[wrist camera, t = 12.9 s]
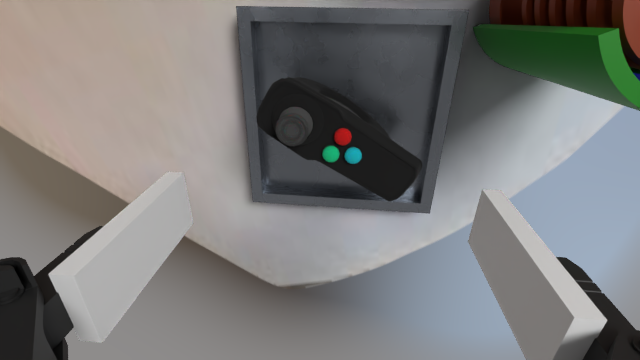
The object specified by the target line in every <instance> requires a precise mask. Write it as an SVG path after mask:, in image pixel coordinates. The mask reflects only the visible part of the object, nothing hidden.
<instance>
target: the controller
mask: <svg viewBox="0 0 640 360" xmlns="http://www.w3.org/2000/svg"><path fill="white" fill-rule="evenodd" d="M256 119H257V124H258V127H260V128H261V129H262V130H263V131H264V132H265V133H267V134H268V135H269V136H271V137H272V138H274V139H275V140H277V141H278V142H280V143H281V144H283V145H284V146H286V147H287V148H289V149H290V150H292V151H293V152H295V153H296V154H298V155H299V156H301V157H303V158H304V159H306V160H316V161H318V162H320V163H322V164H324V165H326V166H327V167H329V168H331V169H333V170H334V171H336V172H338V173H340V174H341V175H343V176H345V177H347V178H348V179H350V180H352V181H354V182H355V183H357V184H359V185H361V186H362V187H364V188H366V189H368V190H369V191H371V192H373V193H375V194H376V195H378V196H380V197H382V198H383V199H385V200H387V201H393V200H396V199H398V198H399V197H401V196H402V195H403V194H404V193H405V192H406V190H407V189H408V188H409V187H410V186H411V185H412V183H413V182H414V181H415V180H416V178H417V177H418V175H419V173H420V171H421V169H422V161H421V160H420V159H419V158H417V157H416V156H414V155H413V154H411V153H410V152H409V151H407V150H406V149H404V148H403V147H401V146H400V145H398V144H397V143H395V142H394V141H393V140H391V139H390V137H389V135H388V133H387V132H386V131H385V130H384V129H383V128H382V127H381V125H380V124H379V123H378V122H377V121H376V120H375V119H374V118H373V117H372V116H370V115H369V114H368V113H367V112H366V111H365V110H363V109H362V108H361V107H359V106H358V105H357V104H355V103H354V102H352V101H351V100H350V99H348V98H347V97H345V96H344V95H342V94H340V93H338V92H337V91H335V90H333V89H331V88H330V87H328V86H325V85H323V84H321V83H319V82H316V81H313V80H310V79H306V78H300V77H295V78H291V77H287V78H285V79H284V78H281V79H279V80H277V81H276V82H274V83H272V85H271V86H270V88H269V90H268V91H267V93H266V95H265V97H264V99H263V101H262V103H261V105H260V107H259V109H258V112H257V116H256Z"/></svg>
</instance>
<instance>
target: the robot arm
mask: <svg viewBox="0 0 640 360" xmlns="http://www.w3.org/2000/svg"><path fill="white" fill-rule="evenodd" d="M192 224H193V218H192V213H191V207H190V202H189V197H188V192H187V186H186V181H185V176H184V172H167V173H165V174H164V175H163V176H162V177H161V178H160V179H158V180H157V181H156V182H155V183H154V184H153V185H151V186H150V187H149V188H148V189H147V190H146V191H144V192H143V193H142V194H141V195H140V196H139V197H137V198H136V199H135V200H134V201H133V202H132V203H130V204H129V205H128V206H127V207H126V208H125V209H124V210H122V211H121V212H120V213H119V214H118V215H117V216H115V217H114V218H113V219H112V220H111V221H110V222H108V223H107V224H106V225H105V226H99V227H97V228H96V229H94V230H92V231H90V232H88V233H86V234H84V235H83V236H82V237H81V238H80V239H78V240H77V241H76V242H75V243H74V245H71V246H70V247H69V248H67V249H66V250H65V252H64V253H61V254H60V255H59V256H58V257H57V258H55V259H54V260H53V261H52V262H51V263H49V264H48V265H47V266H46V267H44V268H43V269H42V270H41V271H40V272H39V273H37V274H36V275H35V276H33V274H32V272H31V270H30V268H29V266H28V264H27V262H26V260H25V259H22V258H20V257H17V258H13V257H12V258H6V259H1V260H0V360H68V345H67V342H66V340H65V338H64V337H65V336H66V335H67V334H68V333H69V332H70V331H71V330H72V328H74V330H75V332H76V334H77V336H78V339H79V341H89V342H100V343H103V341H104V340H105V339H106V337H107V336H108V335H109V333H110V332H111V331H112V329H113V328H114V327H115V325H116V324H117V323H118V321H119V320H120V319H121V318H122V316H123V315H124V314H125V312H126V311H127V310H128V308H129V307H130V306H131V304H132V303H133V302H134V300H135V299H136V298H137V297H138V295H139V294H140V292H141V291H142V290H143V289H144V287H145V286H146V285H147V283H148V282H149V280H150V279H151V278H152V277H153V275H154V274H155V273H156V272H157V270H158V269H159V268H160V266H161V265H162V263H163V262H164V261H165V260H166V258H167V257H168V256H169V254H170V253H171V252H172V251H173V249H174V248H175V246H176V245H177V244H178V243H179V241H180V240H181V239H182V237H183V236H184V235H185V233H186V232H187V231H188V230H189V228H190V227H191V226H192ZM468 242H469V244H470V246H471V249H472V251H473V253H474V254H475V257H476V259H477V261H478V263H479V265H480V267H481V269H482V271H483V273H484V275H485V277H486V279H487V281H488V283H489V285H490V287H491V289H492V291H493V293H494V295H495V297H496V299H497V301H498V303H499V305H500V307H501V309H502V311H503V313H504V315H505V318H506V319H507V322H508V324H509V326H510V327H511V329H512V331H513V334H514V336H515V338H516V340H517V342H518V344H519V346H520V348H521V350H522V352H523V354H524V356H525V358H526V360H640V331H638V330H636V329H635V328H634V327H633V326H632V325H631V324H630V323H629V322H628V321H627V319H626V318H625V317H624V316H623V315H622V314H621V312H620V311H619V310H618V309H617V308H616V307H615V306H614V305H613V303H612V302H611V301H610V300H609V299H608V298H607V297H606V296H605V294H603V293H601V290H600V289H599V288H598V286H597V285H596V284H595V283H593V282H592V280H591V279H590V278H589V277H588V275H587V274H586V273H585V272H584V271H583V270H582V269H581V268H580V267H579V266H577V265H576V264H574V263H573V262H571V261H570V260H568V259H567V258H563V257H555V256H554V255H553V253H552V252H551V251H550V250H549V248H548V247H547V246H546V245H545V244H544V242H543V241H542V240H541V239H540V237H539V236H538V235H537V234H536V232H535V231H534V230H533V229H532V228H531V226H530V225H529V224H528V223H527V221H526V220H525V219H524V218H523V217H522V216H521V214H520V213H519V212H518V211H517V210H516V208H515V207H514V206H513V205H512V203H511V202H510V201H509V199H508V198H507V197H506V196H505V195H504V193H503V192H502V191H501V190H487V189H482V192H481V196H480V199H479V203H478V207H477V210H476V214H475V218H474V222H473V225H472V229H471V233H470V236H469V240H468Z"/></svg>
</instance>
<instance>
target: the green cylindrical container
mask: <svg viewBox="0 0 640 360" xmlns="http://www.w3.org/2000/svg"><path fill="white" fill-rule="evenodd" d="M489 19H490V24H480V25H478V26H475V27H473V29H474V33H475V36H476V38H477V41H478V43H479V45H480V46H481V48H482V49H483V51H484V52H485V53H486V54H487V55H488V56H489V57H490V58H491V59H492V60H494V61H495V62H497V63H498V64H500V65H502V66H505V67H508V68H511V69H514V70H517V71H520V72H523V73H526V74H529V75H532V76H535V77H538V78H541V79H544V80H547V81H550V82H553V83H557V84H560V85H563V86H566V87H569V88H572V89H575V90H578V91H581V92H584V93H587V94H590V95H593V96H596V97H599V98H602V99H605V100H609V101H612V102H615V103H618V104H621V105H624V106H627V107H630V108H633V109H636V110H639V111H640V0H490V4H489Z"/></svg>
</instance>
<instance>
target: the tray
mask: <svg viewBox="0 0 640 360" xmlns="http://www.w3.org/2000/svg"><path fill="white" fill-rule="evenodd" d="M236 9H237V21H238V33H239V45H240V56H241V68H242V80H243V92H244V104H245V115H246V127H247V139H248V151H249V163H250V175H251V186H252V198H253V202H266V203H281V204H296V205H311V206H326V207H341V208H356V209H371V210H386V211H401V212H416V213H430V210H431V204H432V199H433V194H434V189H435V184H436V178H437V173H438V168H439V163H440V158H441V152H442V147H443V142H444V137H445V132H446V126H447V121H448V116H449V111H450V106H451V100H452V95H453V90H454V85H455V80H456V74H457V69H458V64H459V59H460V54H461V48H462V43H463V38H464V33H465V28H466V22H467V17H468V12H469V10H438V9H377V8H316V7H255V6H236ZM287 77H291V78H295V77H300V78H306V79H310V80H313V81H316V82H319V83H321V84H323V85H325V86H328V87H330V88H331V89H333V90H335V91H337V92H338V93H340V94H342V95H344V96H345V97H347V98H348V99H350V100H351V101H352V102H354V103H355V104H357V105H358V106H359V107H361V108H362V109H363V110H365V111H366V112H367V113H368V114H369V115H370V116H372V117H373V118H374V119H375V120H376V121H377V122H378V123H379V124H380V125H381V127H382V128H383V129H384V130H385V131H386V132H387V133H388V135H389V137H390V139H391V140H393V141H394V142H395V143H397V144H398V145H400V146H401V147H403V148H404V149H406V150H407V151H409V152H410V153H411V154H413V155H414V156H416V157H417V158H419V159H420V160H421V161H422V169H421V171H420V173H419V175H418V177H417V178H416V180H415V181H414V182H413V183H412V185H411V186H410V187H409V188H408V189H407V190H406V192H405V193H404V194H403V195H402V196H401V197H399V198H398V199H396V200H393V201H387V200H385V199H383V198H382V197H380V196H378V195H376V194H375V193H373V192H371V191H369V190H368V189H366V188H364V187H362V186H361V185H359V184H357V183H355V182H354V181H352V180H350V179H348V178H347V177H345V176H343V175H341V174H340V173H338V172H336V171H334V170H333V169H331V168H329V167H327V166H326V165H324V164H322V163H320V162H318V161H316V160H306V159H304V158H303V157H301V156H299V155H298V154H296V153H295V152H293V151H292V150H290V149H289V148H287V147H286V146H284V145H283V144H281V143H280V142H278V141H277V140H275V139H274V138H272V137H271V136H269V135H268V134H267V133H265V132H264V131H263V130H262V129H261V128H260V127H258V124H257V119H256V116H257V112H258V109H259V107H260V105H261V103H262V101H263V99H264V97H265V95H266V93H267V91H268V90H269V88H270V86H271V85H272V83H274V82H276V81H277V80H279V79H281V78H284V79H285V78H287Z"/></svg>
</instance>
